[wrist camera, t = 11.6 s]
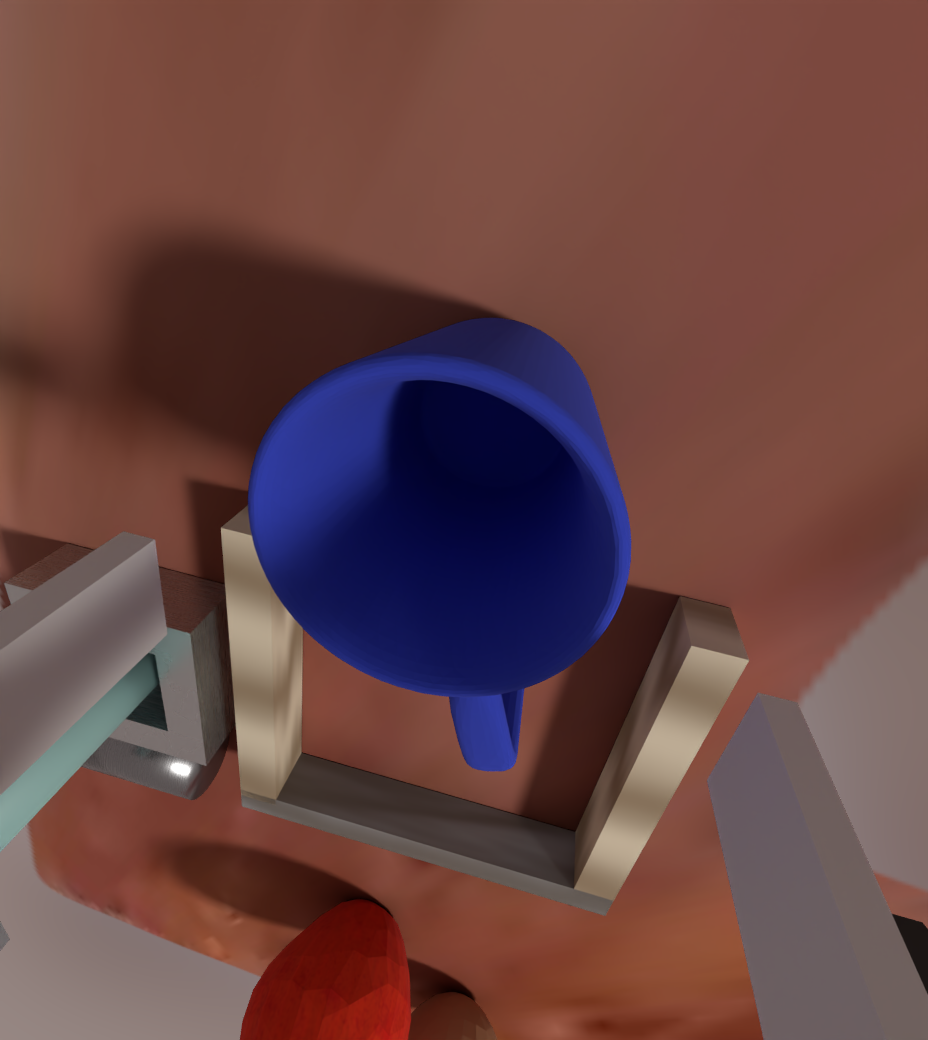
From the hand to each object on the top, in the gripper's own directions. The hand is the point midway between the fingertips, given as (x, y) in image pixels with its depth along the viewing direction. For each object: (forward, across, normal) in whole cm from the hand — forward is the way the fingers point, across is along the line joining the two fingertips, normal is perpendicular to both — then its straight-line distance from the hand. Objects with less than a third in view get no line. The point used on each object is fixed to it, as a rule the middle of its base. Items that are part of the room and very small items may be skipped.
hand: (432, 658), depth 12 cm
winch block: (+11, -16, -15) cm, 25 cm away
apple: (+11, -3, -35) cm, 37 cm away
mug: (+11, 0, +1) cm, 11 cm away
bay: (+11, 0, -12) cm, 16 cm away
